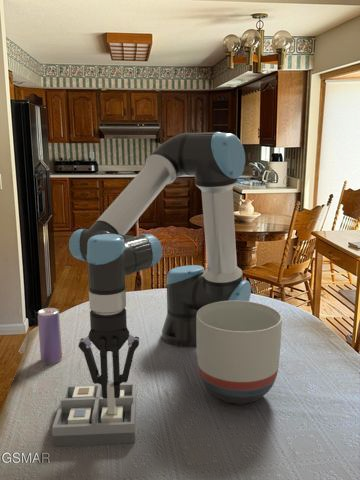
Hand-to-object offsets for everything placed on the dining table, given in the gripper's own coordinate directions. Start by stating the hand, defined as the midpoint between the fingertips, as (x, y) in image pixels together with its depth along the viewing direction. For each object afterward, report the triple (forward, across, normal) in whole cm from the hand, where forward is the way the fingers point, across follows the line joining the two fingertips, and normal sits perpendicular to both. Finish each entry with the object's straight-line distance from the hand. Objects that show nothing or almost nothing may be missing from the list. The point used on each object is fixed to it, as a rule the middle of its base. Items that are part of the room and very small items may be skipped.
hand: (111, 410), depth 105 cm
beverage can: (+5, +20, -35) cm, 41 cm away
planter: (+5, -30, -12) cm, 33 cm away
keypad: (+5, +4, -4) cm, 7 cm away
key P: (+4, 0, 0) cm, 4 cm away
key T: (+4, +7, 0) cm, 8 cm away
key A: (+4, 0, -7) cm, 8 cm away
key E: (+2, +7, -7) cm, 10 cm away
